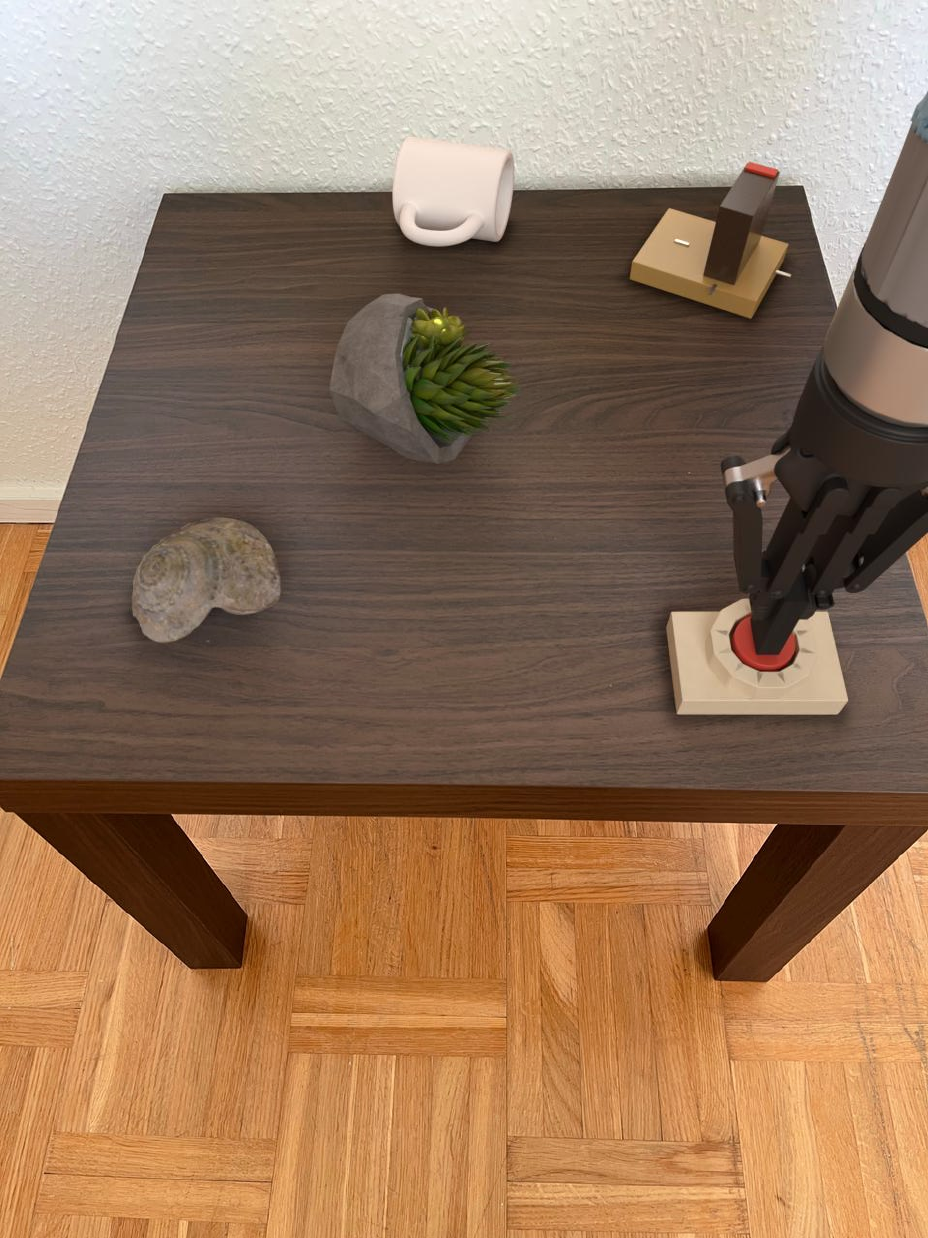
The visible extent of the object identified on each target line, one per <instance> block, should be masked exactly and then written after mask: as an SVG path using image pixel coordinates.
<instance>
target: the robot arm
mask: <svg viewBox="0 0 928 1238" xmlns="http://www.w3.org/2000/svg"><path fill="white" fill-rule="evenodd" d="M926 91H927V92H926V93H925V94H924V95H923V98H922V100H920V101H919V102H918V103H917V104H916V105H915V108H914V111H913V113H912V115H911V118H910V120H909V121H910V122H911V124H910V126H909V129H908V131H907V134H906V136H905V140H904V143H903V146H902V148H901V151H900V153H899V156H898V159H897V161H896V164H895V166H894V168H893V171H892V173H891V176H890V178H889V181H888V184H887V186H886V189H885V192H884V194H883V196H882V199H881V201H880V204H879V207H878V209H877V211H876V212H877V213H876V215H875V216H874V219H873V222H872V225H871V227H870V230H869V231H868V235H867V238H866V239H865V242H864V244H863V247H862V248H861V251H860V253H859V256H858V258H857V261H856V263H855V265H854V267H853V269H852V272H851V274H850V277H849V278H848V281H847V284H846V286H845V288H844V290H843V293H842V296H841V298H840V301H839V303H838V305H837V308H836V310H835V312H834V315H833V317H832V320H831V323H830V324H829V327H828V330H827V332H826V335H825V338H824V341H823V342H824V343H823V345H822V346H821V348H820V350H819V352H818V353H817V355H816V358H815V360H814V363H813V365H812V367H811V370H810V373H809V375H808V377H807V379H806V383H805V385H804V387H803V389H802V391H801V394H800V396H799V399H798V402H797V404H796V408H795V411H794V414H793V418H792V422H791V425H790V427H789V428H788V429H787V430H786V432H784V434H782V435H781V436H780V437H778V438H777V439H776V440H775V441H774V443H773V444H772V447H771V449H770V454H769V455H765V456H764V457H761V458H759V459H758V458H757V459H756V460H753V461H750V462H747V463H746V461H745V459H744V458H743V457H742V456H740V455H731V456H730V455H729V456H727V457H725V458H724V459H723V460H722V461H721V462H720V471H721V477H722V483H723V488H724V494H725V500H726V504H727V505H728V506H729V508H730V509H731V511H732V536H733V537H732V538H733V539H732V540H733V541H732V542H733V544H732V545H733V549H732V550H733V561H734V566H735V567H734V568H735V573H736V579H737V583H738V584H737V585H738V590H739V592H740V593H742V594H746V595H748V594H749V595H748V599H749V602H750V608H751V613H752V617H751V619H750V622H751V628H752V634H753V639H754V645H755V651H756V655H779V654H780V652H781V650H782V649H783V647H784V645H785V644H786V642H787V640H788V638H789V637H790V635H791V633H792V631H793V630H794V628H795V626H796V624H797V623H798V621H799V620H808V619H809V618H810V617H812V616H813V615H814V613H815V612H817V611H825V610H826V611H827V610H830V609H831V608H833V607H834V606H835V600H834V595H833V594H834V592H835V590H839V589H845V592H847V593H849V594H857V593H860V592H863V591H865V590H866V589H867V588H869V586H870V585H872V584H873V583H874V582H876V580H877V579H878V578H879V577H880V576H882V575H883V574H884V573H885V572H886V571H887V570H888V569H889V568H890V567H892V566H893V565H894V564H895V563H897V561H898V560H900V558H902V557H903V556H904V555H905V554H906V553H907V552H908V551H909V550H911V549H912V548H913V547H914V546H915V545H916V544H917V543H919V542H920V541H921V539H923V538H924V537H925V536H926V535H927V534H928V90H926ZM777 481H779V483H780V484H781V486H782V487H783V489H784V490H785V492H786V493H787V495H788V496H789V499H788V501H787V503H786V505H785V508H784V510H783V511H782V514H781V516H780V519H779V521H778V522H777V525H776V527H775V529H774V531H773V533H772V536H771V538H770V540H769V542H768V545H767V546H766V548H765V550H763V530H764V529H763V528H764V519H763V513H762V508H764V507H765V506H766V505H768V504H767V503H768V501H767V498H768V497H769V496H770V494H771V493H772V489H771V487H772V485H774V483H775V482H777ZM803 567H804V569H803Z"/></svg>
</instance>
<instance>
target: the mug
mask: <svg viewBox="0 0 928 1238" xmlns="http://www.w3.org/2000/svg"><path fill="white" fill-rule="evenodd" d="M514 186H515V158H514V154H513V152H512V151H511V150H509V149H503V148H502V149H501V148H495V147H488V146H483V145H474V144H468V143H460V142H454V141H447V140H439V139H432V138H425V137H418V136H412V135H411V136H408V137H406V138H405V139H404V140H403V142H402V143H401V145H400V147H399V151H398V152H397V156H396V161H395V165H394V170H393V179H392V193H391V194H392V195H391V196H392V210H393V215H394V219H395V222H396V224H397V225H398V226H399V227H400V230H401V232H402V234H403V235H404V236H405V237H406V238H407V239H408V240H410V241H412V242H414V243H416V244H419V245H421V246H422V245H423V246H427V247H449V246H455V245H459V244H462V243H464V242H467V241H468V240H470V239H474V240H480V241H485V242H492V243H498V242H499V241H500V240H501V239H502V238H503V236H504V234H505V232H506V228H507V225H508V221H509V217H510V213H511V208H512V202H513V194H514Z"/></svg>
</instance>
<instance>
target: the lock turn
mask: <svg viewBox="0 0 928 1238" xmlns="http://www.w3.org/2000/svg"><path fill="white" fill-rule="evenodd" d="M780 174H781V171H779V169H778V168H774V167H771V166H767V165H763V164H759V163H756V162H752V161H748V162H747V163H746V164H745V166H744V167H743V168H742V170H741V171H740V173H739V175H738V177H737V178H736V180H735V181H734V183H733V185H731V187H730V189H729V191H728V193H727V194H726V196H725V197H724V199H723V200H722V202H721V204H720V205H719V207H718V212H717V216H716V219H715V220H716V221H715V222H716V224H715V228H714V232H713V236H712V240H711V244H710V248H709V253H708V257H707V261H706V265H705V269H704V273H703V276H706V277H709V278H713V279H716V280H719V281H722V282H725V283H728V284H732V285H735V283H736V281H737V280H738V278H739V276H740V274H741V273H742V271H743V269H744V268H745V266H746V264H747V262H748V261H749V259H750V257H751V255H752V254H753V252H754V250H755V248H756V247H757V245H758V243H759V242H760V239H761V236H763V235H762V234H763V232H764V227H765V224H766V222H767V217H768V214H769V211H770V208H771V204H772V201H773V198H774V194H775V191H776V189H777V188H776V187H777V184H778V181H779V178H780Z"/></svg>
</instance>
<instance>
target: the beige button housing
mask: <svg viewBox="0 0 928 1238" xmlns="http://www.w3.org/2000/svg"><path fill="white" fill-rule="evenodd" d="M750 616H752V613H751V608H750V602H749V598H741V599H738V601H735V602H733V603H731V604H730V605H728V606H726V607H724V608H722V609H721V610H720V611H671V612H670V615H669V618H668V621H667V624H666V627H665V628H666V637H667V638H666V639H667V646H668V654H669V655H668V656H669V663H670V671H671V679H672V687H673V696H674V704H675V705H674V706H675V710H676V715H826V716H827V715H828V716H829V715H833V716H834V715H839V714H840V712H841V711H842V710H843V708H844V707H845V706H846V704H847V703H848V702H849V697H848V693H847V689H846V684H845V680H844V676H843V675H844V674H843V671H842V668H841V662H840V657H839V653H838V649H837V645H836V640H835V637H834V636H835V635H834V633H833V629H832V624H831V619H830V614H829V612H828V611H816V612H815V613H814V615H813V616H812V617H810V618H809V619H808V620H799V621H798V623H797V624H796V626H795V628H794V630H793V631H792V633H793V636H794V639H795V651H794V654H793V655H792V657H791V659H790V660H789V662H788V664H787V665H786V667H785V669H783V670H781V671H779V672H759V671H757V670H755V669H753V668H751V667H749V666H746V665H744V664H742V662H741V661H740V660H739V659H738V658H737V656H736V655H735V654H734V653H733V652H732V650H731V645H730V641H731V638H732V636H733V634H734V632H735V630H736V627H737V626H738V624H739V623H740V622H741V621H742V620H744V619H745V618H747V617H750Z"/></svg>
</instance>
